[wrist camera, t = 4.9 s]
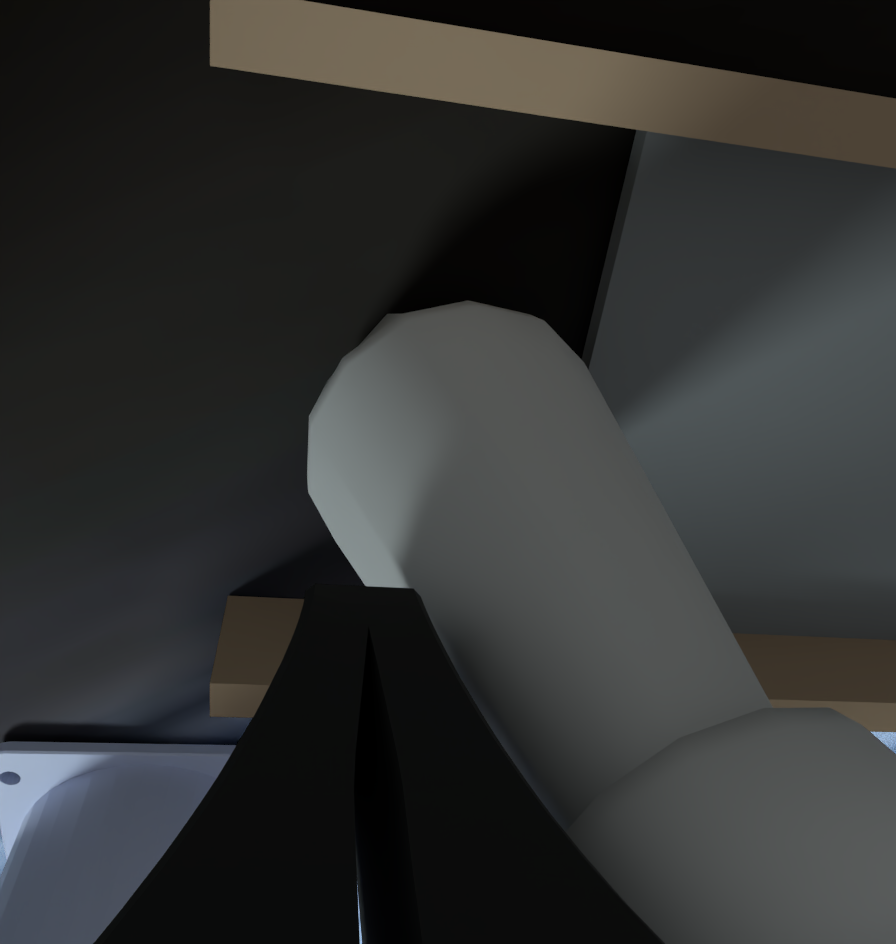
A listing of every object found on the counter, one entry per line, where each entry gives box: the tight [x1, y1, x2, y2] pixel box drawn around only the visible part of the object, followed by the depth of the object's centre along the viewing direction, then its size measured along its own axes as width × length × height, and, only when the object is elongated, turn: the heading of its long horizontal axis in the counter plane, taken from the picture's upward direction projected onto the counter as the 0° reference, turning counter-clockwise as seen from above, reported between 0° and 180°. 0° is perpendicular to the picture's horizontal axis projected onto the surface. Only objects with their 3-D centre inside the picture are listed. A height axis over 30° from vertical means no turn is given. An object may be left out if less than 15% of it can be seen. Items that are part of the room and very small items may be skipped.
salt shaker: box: [307, 300, 896, 944], centre depth 12 cm, size 6×6×13 cm
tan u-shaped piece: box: [210, 0, 896, 732], centre depth 17 cm, size 14×21×3 cm, turn 82°
